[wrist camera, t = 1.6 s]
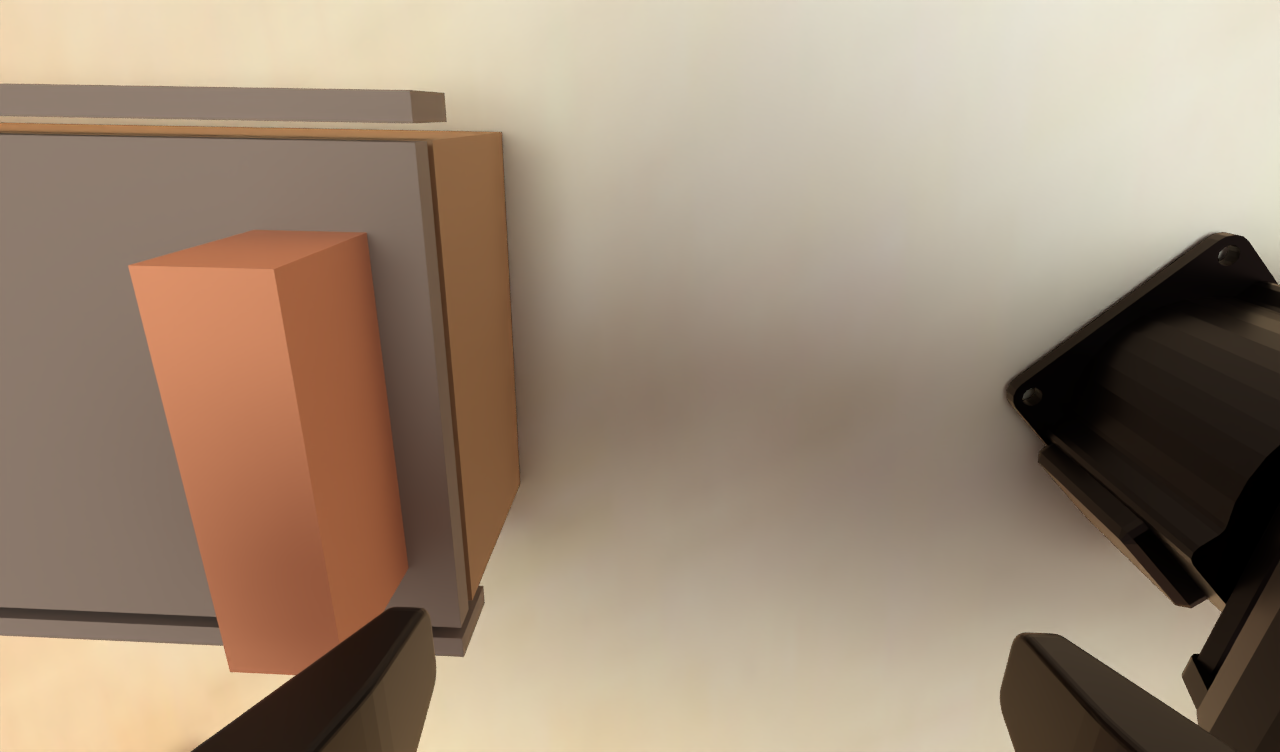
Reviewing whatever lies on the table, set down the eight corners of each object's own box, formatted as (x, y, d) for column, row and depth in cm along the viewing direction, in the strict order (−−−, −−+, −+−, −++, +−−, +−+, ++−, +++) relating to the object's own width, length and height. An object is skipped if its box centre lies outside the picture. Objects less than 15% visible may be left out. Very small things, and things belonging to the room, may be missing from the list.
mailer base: (501, 132, 17) (432, 140, 12) (520, 484, 21) (472, 600, 16) (-78, 121, 18) (-367, 125, 13) (37, 466, 21) (-154, 573, 16)
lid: (443, 92, 13) (321, 83, 8) (484, 602, 17) (417, 778, 13) (-322, 80, 13) (-822, 64, 9) (-102, 577, 18) (-368, 737, 13)
